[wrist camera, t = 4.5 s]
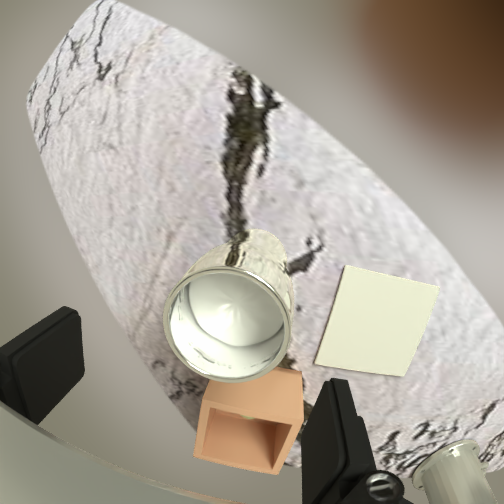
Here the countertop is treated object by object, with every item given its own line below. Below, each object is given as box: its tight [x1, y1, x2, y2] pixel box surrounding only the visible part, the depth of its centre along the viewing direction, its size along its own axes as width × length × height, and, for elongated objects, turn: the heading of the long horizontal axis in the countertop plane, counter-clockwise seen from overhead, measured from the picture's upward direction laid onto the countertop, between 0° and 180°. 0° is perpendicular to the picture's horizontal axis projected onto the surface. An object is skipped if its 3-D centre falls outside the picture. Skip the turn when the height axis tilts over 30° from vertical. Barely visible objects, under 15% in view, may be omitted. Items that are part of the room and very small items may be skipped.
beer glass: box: [163, 229, 294, 383], centre depth 22 cm, size 7×7×15 cm
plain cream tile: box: [314, 265, 440, 377], centre depth 29 cm, size 11×11×1 cm
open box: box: [193, 367, 304, 475], centre depth 29 cm, size 9×9×8 cm
